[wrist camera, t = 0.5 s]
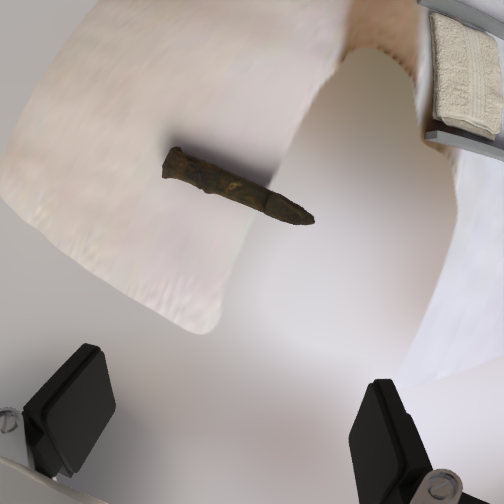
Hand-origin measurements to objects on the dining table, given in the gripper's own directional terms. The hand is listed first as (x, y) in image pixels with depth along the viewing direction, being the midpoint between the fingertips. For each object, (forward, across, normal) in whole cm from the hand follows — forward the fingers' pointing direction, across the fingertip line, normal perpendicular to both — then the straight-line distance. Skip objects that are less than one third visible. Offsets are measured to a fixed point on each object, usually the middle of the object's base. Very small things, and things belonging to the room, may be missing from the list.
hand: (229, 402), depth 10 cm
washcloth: (+31, -26, -25) cm, 48 cm away
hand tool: (+31, +3, -5) cm, 31 cm away
